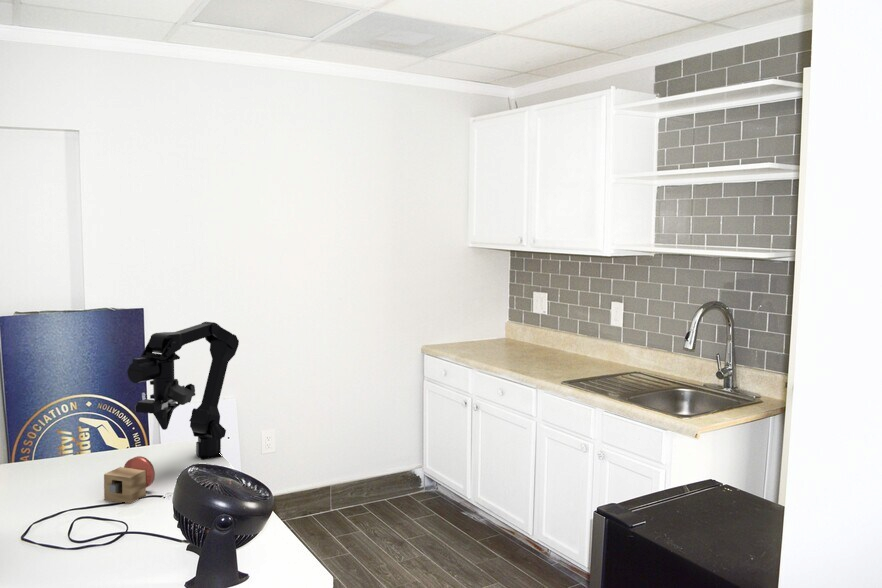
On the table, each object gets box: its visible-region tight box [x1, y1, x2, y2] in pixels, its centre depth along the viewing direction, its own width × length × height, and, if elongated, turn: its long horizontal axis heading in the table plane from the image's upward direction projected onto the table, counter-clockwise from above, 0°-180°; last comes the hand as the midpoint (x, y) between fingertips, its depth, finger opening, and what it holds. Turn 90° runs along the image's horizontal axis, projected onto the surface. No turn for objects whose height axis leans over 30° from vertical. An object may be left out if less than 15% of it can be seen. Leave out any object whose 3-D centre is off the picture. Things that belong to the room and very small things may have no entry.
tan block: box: [103, 466, 147, 505], centre depth 184 cm, size 6×8×7 cm
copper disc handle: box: [110, 455, 156, 493], centre depth 185 cm, size 11×9×9 cm
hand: (164, 429), depth 204 cm, fingers closed
